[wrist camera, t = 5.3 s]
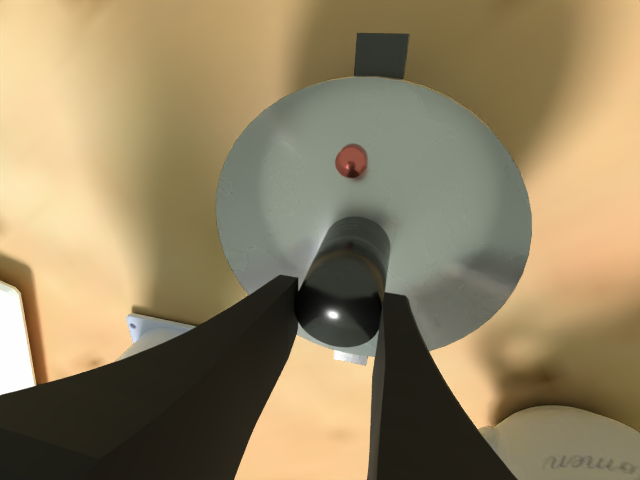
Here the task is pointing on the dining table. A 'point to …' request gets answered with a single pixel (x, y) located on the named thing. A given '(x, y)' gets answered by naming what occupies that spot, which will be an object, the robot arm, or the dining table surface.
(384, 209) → the lid
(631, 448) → the teacup
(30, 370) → the plate
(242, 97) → the dining table surface
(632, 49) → the dining table surface
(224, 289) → the dining table surface
